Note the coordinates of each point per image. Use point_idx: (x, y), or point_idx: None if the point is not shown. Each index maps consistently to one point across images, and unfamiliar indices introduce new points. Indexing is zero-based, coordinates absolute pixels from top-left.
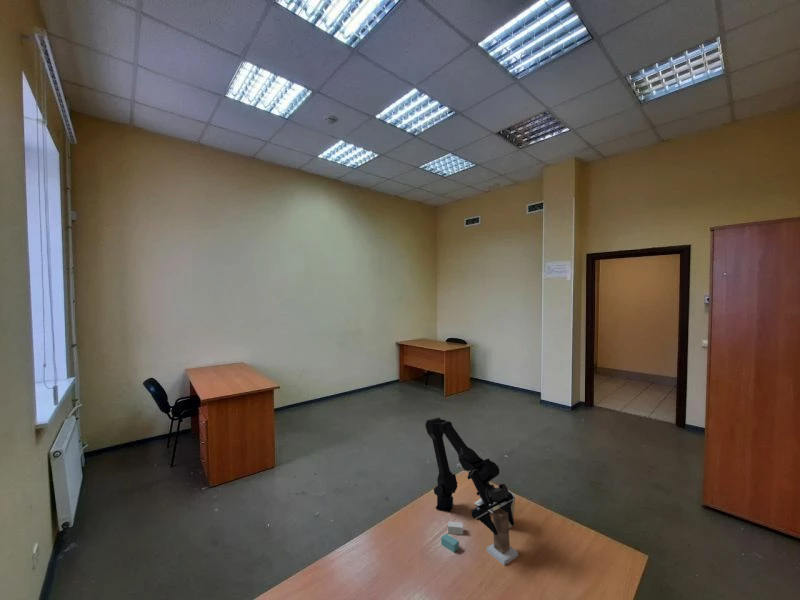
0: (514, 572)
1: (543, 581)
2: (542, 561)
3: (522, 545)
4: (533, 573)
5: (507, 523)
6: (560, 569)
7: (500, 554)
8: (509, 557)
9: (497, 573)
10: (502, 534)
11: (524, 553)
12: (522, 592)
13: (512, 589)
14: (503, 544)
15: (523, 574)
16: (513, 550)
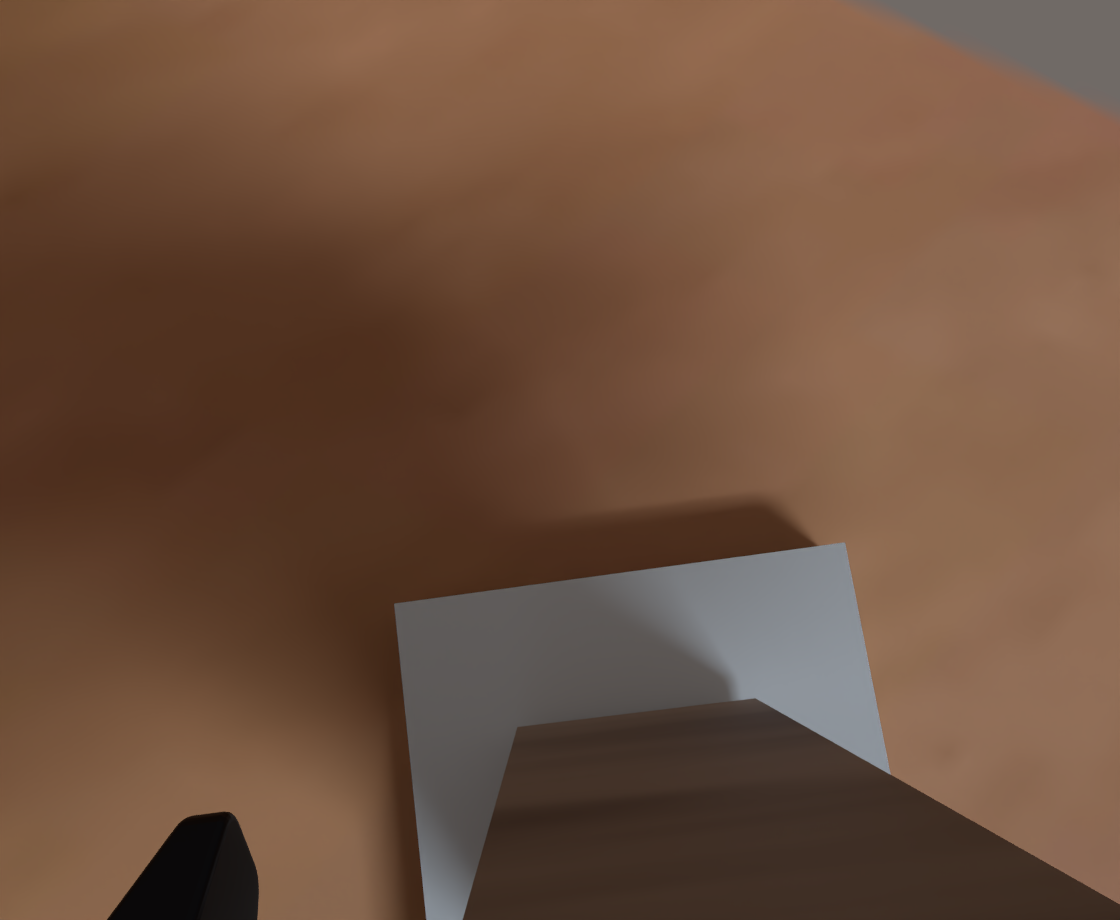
0: (759, 354)
1: (462, 36)
2: (113, 311)
3: (95, 783)
4: (479, 203)
5: (555, 894)
6: (2, 68)
7: None
8: (668, 575)
9: (1051, 466)
10: (838, 775)
11: (245, 598)
12: (912, 42)
13: (1018, 139)
14: (746, 726)
15: (649, 260)
16: (450, 683)
